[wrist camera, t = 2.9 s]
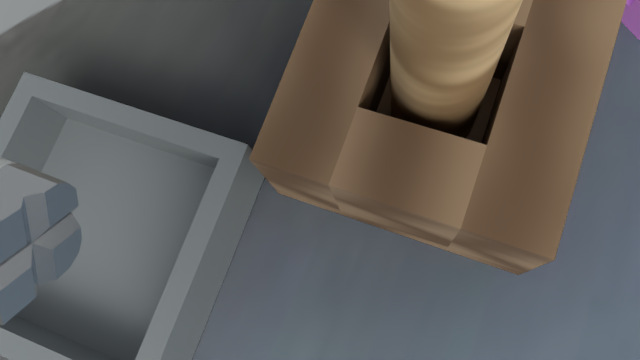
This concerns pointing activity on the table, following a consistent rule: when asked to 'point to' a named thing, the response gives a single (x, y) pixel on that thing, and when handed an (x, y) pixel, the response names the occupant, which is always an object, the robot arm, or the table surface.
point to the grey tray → (127, 225)
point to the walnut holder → (439, 147)
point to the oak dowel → (445, 58)
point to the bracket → (632, 17)
